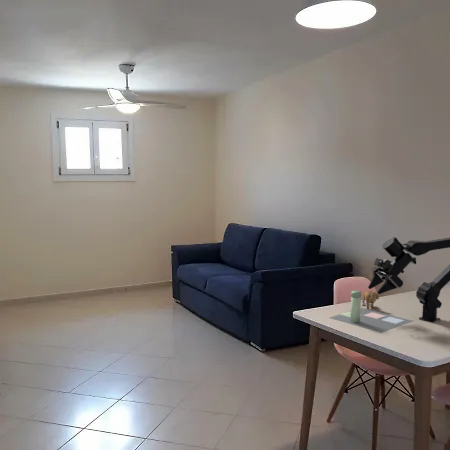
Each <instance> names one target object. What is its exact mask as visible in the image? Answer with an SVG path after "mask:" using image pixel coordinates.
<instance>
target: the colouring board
mask: <svg viewBox="0 0 450 450" xmlns="http://www.w3.org/2000/svg"><path fill="white" fill-rule="evenodd" d="M328 318H329V319H332V320H335V321H338V322H341V323H342V322H343V323H346V324H349V325H351V326H356V327H360V328H363V329H367V330H371V331H374V332H377V333H380V334H381V333H385V332H387V331H390V330H392V329H395V328H397V327H401V326H403V325H406V324H409V323H412V322H413V320H411V319H408V318H404V317H403V318H402V317H399V316H396V315H391V314H387V313H383V312H380V311H379V312H378V311H375V310H373V309H366V308H363V307H361V310H360V323H352V322H350V320H351V310H350V311H347V312H344V313H340V314H337V315H334V316H330V317H328Z"/></svg>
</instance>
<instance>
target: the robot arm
mask: <svg viewBox="0 0 450 450" xmlns="http://www.w3.org/2000/svg"><path fill="white" fill-rule="evenodd" d="M381 247H382V249H384V251H385V252H386V253H387V254H388V255H389V256H390V257H391V258H394V259H392V260H389V259H387V258H384V259H381V258H378V257H376V258H375V260H374V262H373V265H374V267H373V268H372V269H371V271H372V275H373V276H372V279H371V281H370V283H369V285H368V287H367V288H368V289H369V290H371V289H373V288H375V287H376V286H378V285H380V284H382V283H383V284H382V285H381V286H380V288H379V289H378V290H377V291H376V293H377V294H378V295H381V294H384V293H386V292H389V291H392V290H395V289H398V288H399V289H401V287H402V286H403V285H404V281H403V280H402V279H401V278H400V277H399V275H401V274H404V273H405V271H404V270H405V269H406V268H407V267H408V266H409V265H410V264H414V265H417V258H416V257H415V256H417V257H419V256H422V255H425V254H427V253H429V252H431V251H435V250H443V249H449V248H450V237H445V238H439V239H432V240H409V241H407V242H406V243H401V242H400V241H399V239H398V238H397V237H395V236H393V237H392V238H390V239H387V240H386V241H384V243H383V244H382V246H381ZM405 251H406V252H405ZM412 255H413V256H412ZM448 283H450V264H449V265H447V266H446V268H444V269H443V270H442V271H441V272H440V273H439V274H438V275H437V276H436V277H435V278H434V279H433V280H432V281H430V282H426V281H424V282H422V284H421V285H420V286H418V287H417V290H416V292H415V293H416V294H415V295H416V298H417V300H418V301H419V304H421V305H422V311H421V313H422V316H420V317H419V318H418V319H419V320H422V321H426V322H429V323H434V322H437V321H440V320H441V317H438V315H437V314H438V309H440V308H441V307H442V305H443V304H442V303H443V302H441V301H440V300H439V299H438V298H439V297H440V293H441V291H442V289H443V288H444V287H446V285H448Z"/></svg>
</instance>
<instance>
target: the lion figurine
mask: <svg viewBox="0 0 450 450" xmlns="http://www.w3.org/2000/svg"><path fill="white" fill-rule="evenodd" d="M380 298H381V296H380V294H378V293H377V291H375V290H371V291H364V292H363V295H362V300H361V305H362V306H363V307H365V306H366V308H365V309H368V310H370V308H371V310H374V309H375V307H374V303H375V302H376V301H378V300H379V299H380ZM365 301H366V302H365ZM365 304H366V305H365ZM370 304H371V305H370Z"/></svg>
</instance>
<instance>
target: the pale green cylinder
mask: <svg viewBox="0 0 450 450" xmlns="http://www.w3.org/2000/svg"><path fill="white" fill-rule="evenodd" d="M361 297H362V291H361V290H351V291H350V311H351V320H350V322H352V323H360V310H361V308H362V307H361V305H362V300H361V299H362V298H361Z"/></svg>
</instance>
